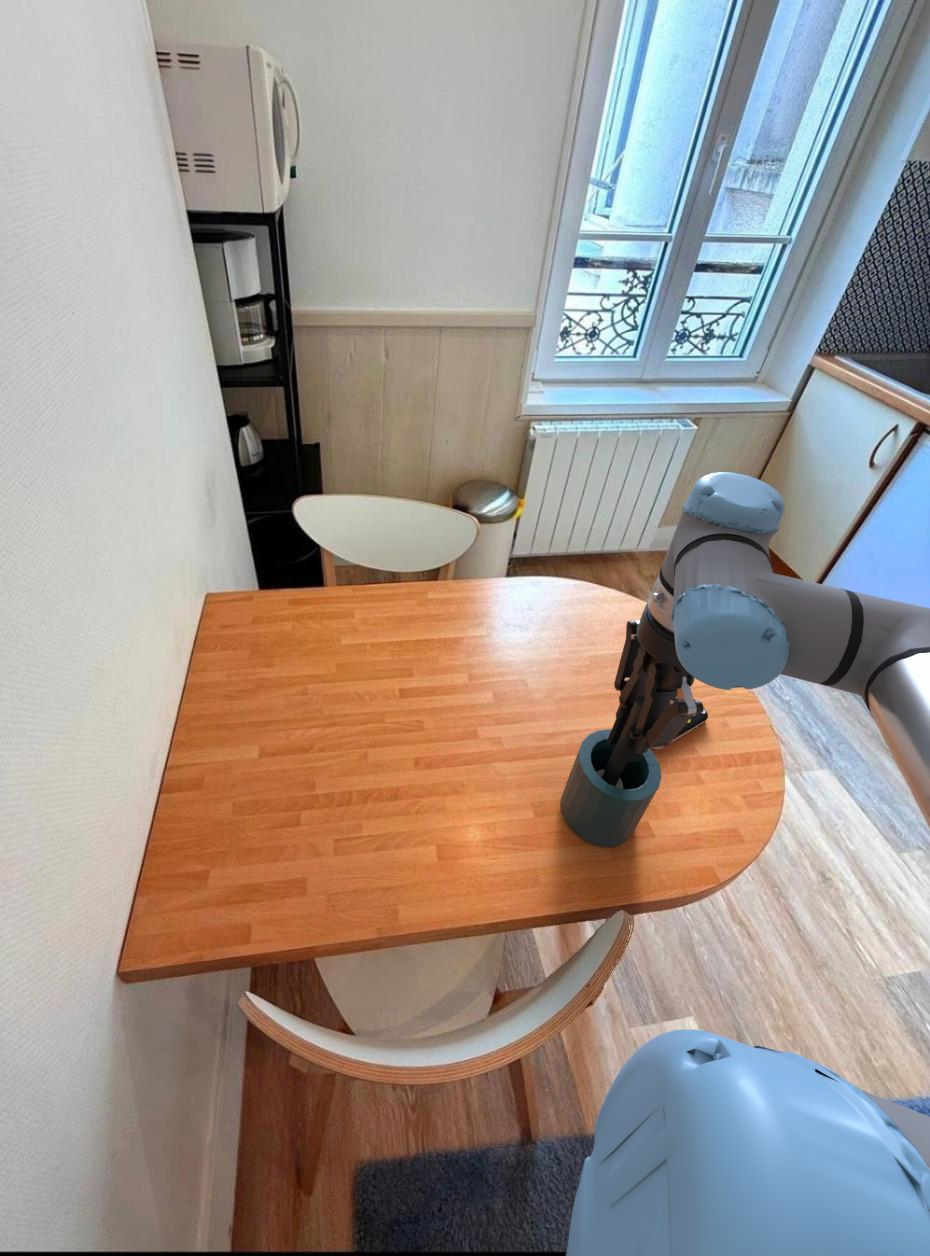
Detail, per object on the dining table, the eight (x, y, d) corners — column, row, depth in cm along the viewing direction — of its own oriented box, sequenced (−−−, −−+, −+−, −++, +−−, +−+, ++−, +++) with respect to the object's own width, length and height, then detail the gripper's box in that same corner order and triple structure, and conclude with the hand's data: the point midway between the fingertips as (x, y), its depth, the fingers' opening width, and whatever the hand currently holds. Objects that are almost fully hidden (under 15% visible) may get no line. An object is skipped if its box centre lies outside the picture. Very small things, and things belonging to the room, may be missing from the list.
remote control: (624, 724, 97) (627, 716, 96) (678, 694, 102) (682, 686, 101) (653, 754, 93) (657, 746, 92) (709, 721, 98) (713, 713, 97)
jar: (647, 843, 82) (675, 795, 75) (575, 852, 81) (597, 805, 73) (616, 774, 90) (639, 725, 82) (550, 782, 88) (567, 732, 81)
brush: (618, 814, 83) (668, 715, 69) (590, 817, 83) (636, 718, 69) (607, 787, 86) (653, 687, 72) (580, 790, 86) (621, 690, 72)
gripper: (618, 570, 67) (573, 704, 82) (686, 676, 56) (619, 810, 70) (681, 566, 68) (625, 699, 83) (760, 669, 57) (679, 803, 71)
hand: (622, 750), depth 77 cm, fingers closed on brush, 2 cm apart
